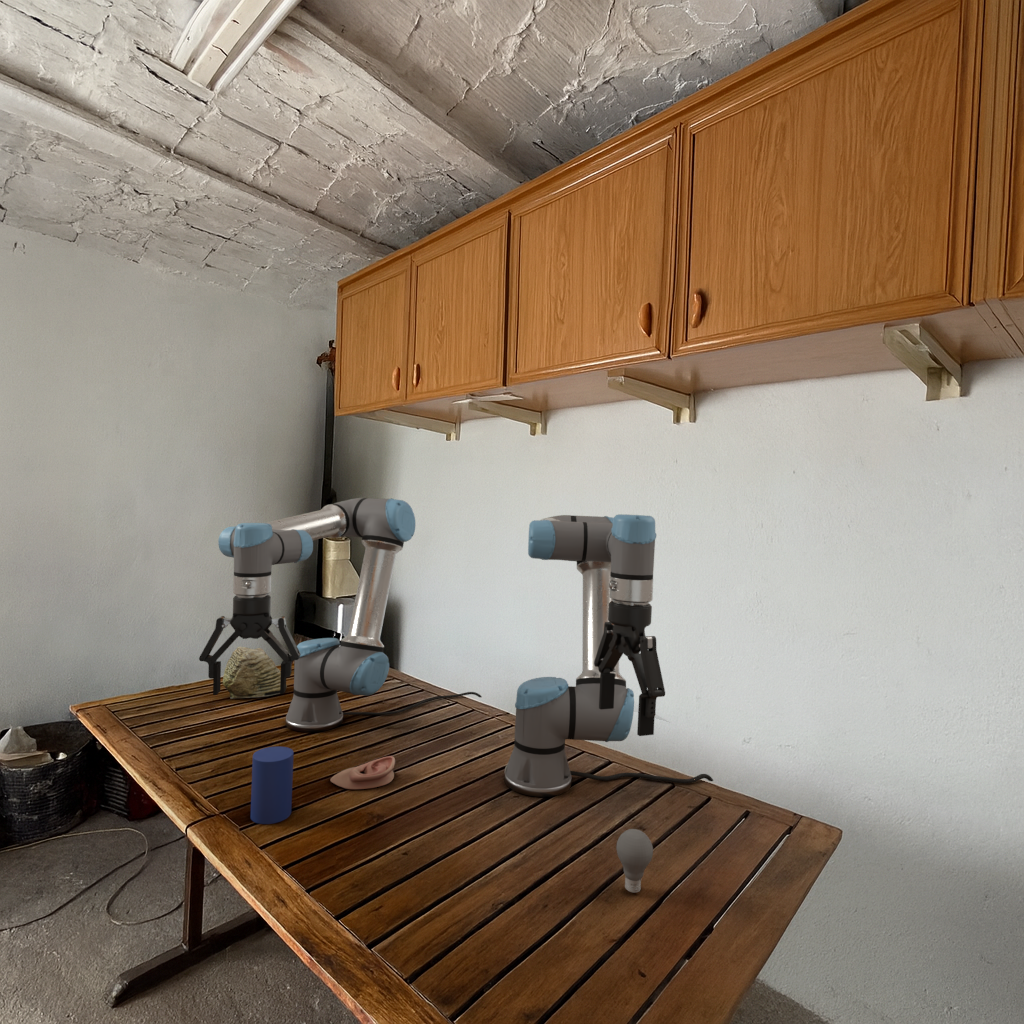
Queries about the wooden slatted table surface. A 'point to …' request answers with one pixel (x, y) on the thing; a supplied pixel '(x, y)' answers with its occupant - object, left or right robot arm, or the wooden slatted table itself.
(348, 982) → the wooden slatted table surface
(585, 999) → the wooden slatted table surface
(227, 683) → the fossil
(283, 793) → the canister
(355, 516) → the left robot arm
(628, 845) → the light bulb
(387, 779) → the anatomical model
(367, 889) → the wooden slatted table surface
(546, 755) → the right robot arm
